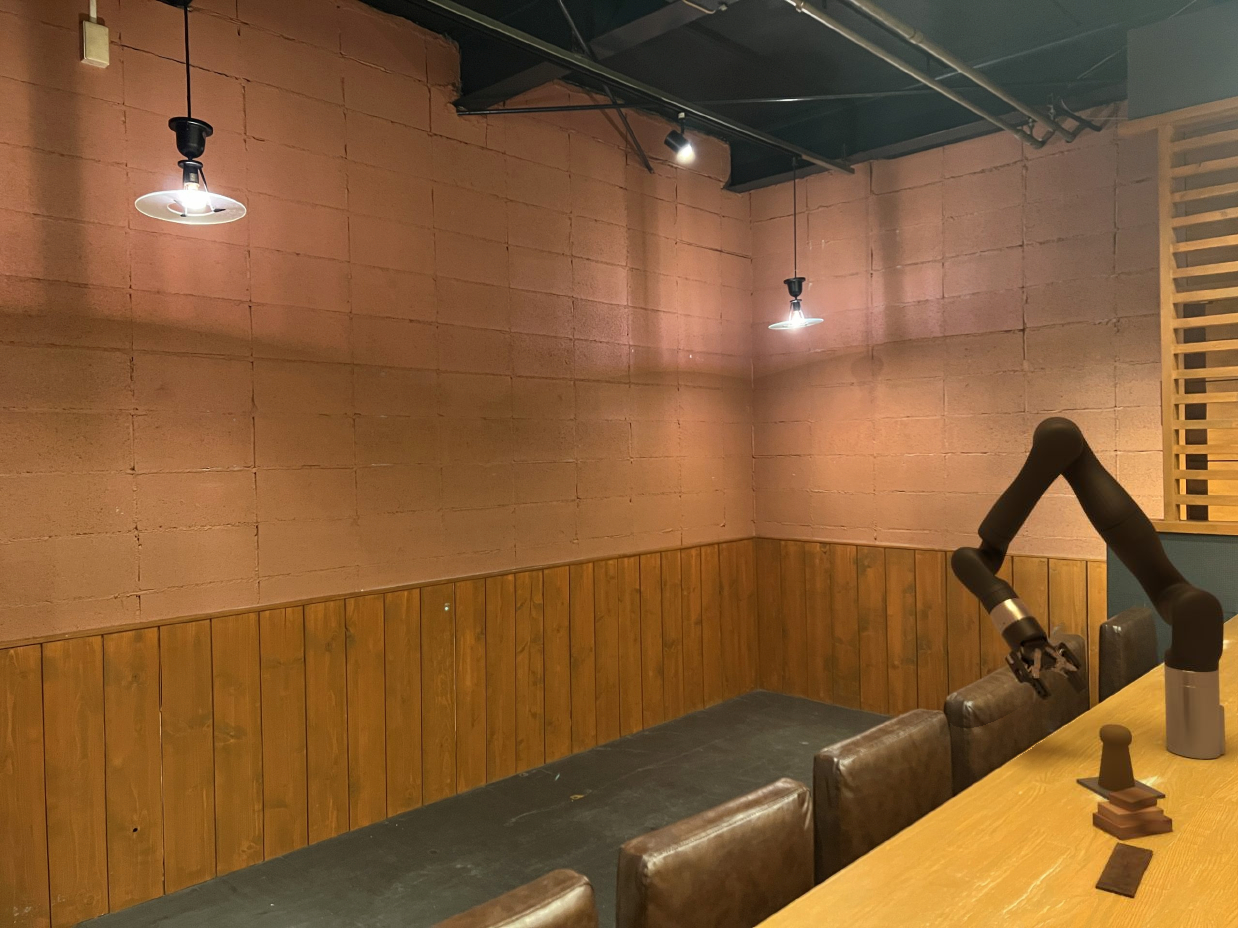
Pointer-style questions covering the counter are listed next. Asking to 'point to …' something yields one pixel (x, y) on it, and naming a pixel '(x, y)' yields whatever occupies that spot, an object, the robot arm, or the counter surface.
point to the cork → (1115, 758)
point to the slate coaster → (1093, 786)
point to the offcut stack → (1131, 815)
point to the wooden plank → (1124, 870)
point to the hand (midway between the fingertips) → (1065, 694)
